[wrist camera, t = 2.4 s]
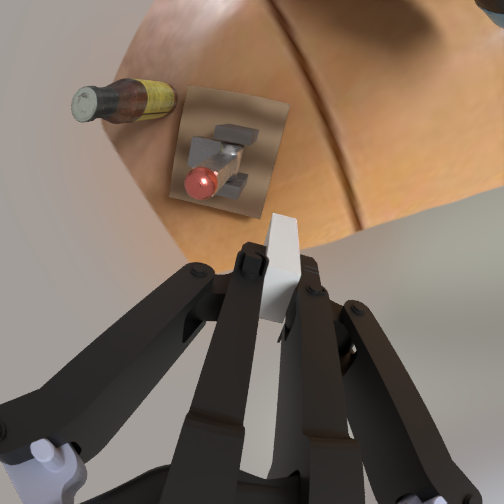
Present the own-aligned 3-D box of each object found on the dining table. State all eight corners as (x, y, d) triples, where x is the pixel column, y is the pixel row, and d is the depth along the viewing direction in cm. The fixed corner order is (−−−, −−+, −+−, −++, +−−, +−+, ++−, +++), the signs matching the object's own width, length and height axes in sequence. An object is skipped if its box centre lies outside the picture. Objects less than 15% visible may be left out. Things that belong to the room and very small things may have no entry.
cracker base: (195, 87, 38) (166, 79, 28) (289, 105, 38) (291, 100, 28) (176, 191, 46) (147, 213, 36) (262, 211, 46) (254, 241, 36)
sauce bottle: (163, 75, 37) (89, 60, 20) (186, 99, 39) (119, 94, 21) (137, 102, 40) (56, 106, 22) (158, 127, 41) (83, 141, 24)
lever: (197, 134, 35) (138, 149, 20) (247, 144, 35) (218, 164, 20) (191, 164, 37) (133, 199, 22) (240, 175, 37) (208, 217, 22)
